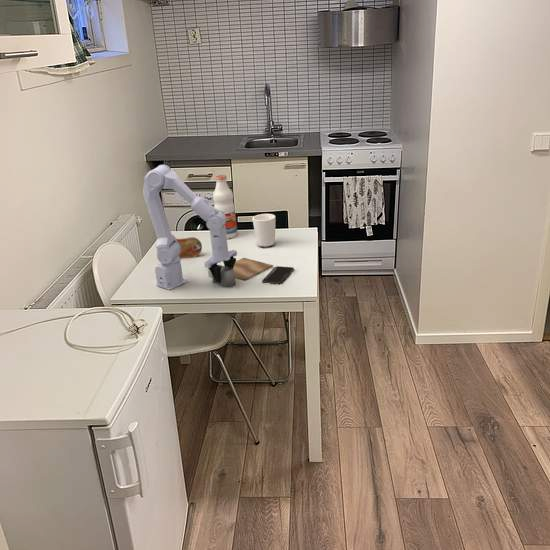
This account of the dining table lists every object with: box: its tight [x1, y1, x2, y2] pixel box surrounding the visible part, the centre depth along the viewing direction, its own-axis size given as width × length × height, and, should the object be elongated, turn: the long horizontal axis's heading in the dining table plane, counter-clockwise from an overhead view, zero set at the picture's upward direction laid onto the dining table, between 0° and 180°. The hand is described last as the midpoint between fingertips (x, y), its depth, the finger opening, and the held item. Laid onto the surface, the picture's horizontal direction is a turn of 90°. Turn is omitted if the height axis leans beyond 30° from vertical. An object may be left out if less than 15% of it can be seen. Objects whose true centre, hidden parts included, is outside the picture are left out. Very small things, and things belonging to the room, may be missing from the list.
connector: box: [207, 264, 236, 289], centre depth 210 cm, size 4×12×6 cm, turn 49°
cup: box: [252, 213, 277, 249], centre depth 243 cm, size 10×10×13 cm
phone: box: [261, 265, 295, 286], centre depth 213 cm, size 8×1×15 cm
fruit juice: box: [212, 174, 238, 240], centre depth 255 cm, size 9×9×28 cm
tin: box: [176, 236, 203, 260], centre depth 238 cm, size 15×3×8 cm, turn 92°
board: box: [233, 257, 274, 281], centre depth 222 cm, size 16×16×1 cm
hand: (223, 279), depth 210 cm, fingers open, 5 cm apart
